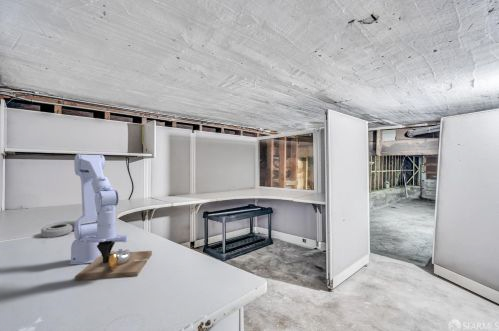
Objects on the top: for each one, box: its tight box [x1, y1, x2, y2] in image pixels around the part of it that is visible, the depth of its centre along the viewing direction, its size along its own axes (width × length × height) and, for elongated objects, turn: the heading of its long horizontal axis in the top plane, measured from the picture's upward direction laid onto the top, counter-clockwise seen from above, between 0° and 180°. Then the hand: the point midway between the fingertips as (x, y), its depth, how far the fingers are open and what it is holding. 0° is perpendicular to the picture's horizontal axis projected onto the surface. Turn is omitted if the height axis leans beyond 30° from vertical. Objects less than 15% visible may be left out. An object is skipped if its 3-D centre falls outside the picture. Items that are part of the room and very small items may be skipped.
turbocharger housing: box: [40, 220, 76, 238], centre depth 141 cm, size 17×6×15 cm
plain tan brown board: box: [74, 250, 153, 281], centre depth 94 cm, size 21×22×2 cm
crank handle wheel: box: [107, 248, 131, 270], centre depth 91 cm, size 14×8×6 cm, turn 16°
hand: (106, 262), depth 86 cm, fingers closed
